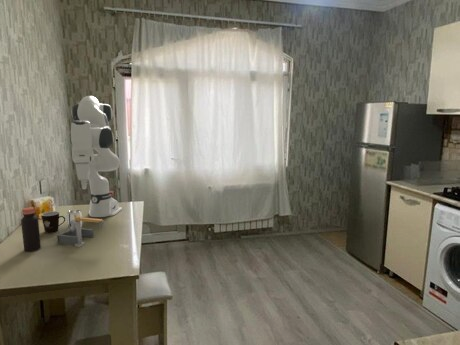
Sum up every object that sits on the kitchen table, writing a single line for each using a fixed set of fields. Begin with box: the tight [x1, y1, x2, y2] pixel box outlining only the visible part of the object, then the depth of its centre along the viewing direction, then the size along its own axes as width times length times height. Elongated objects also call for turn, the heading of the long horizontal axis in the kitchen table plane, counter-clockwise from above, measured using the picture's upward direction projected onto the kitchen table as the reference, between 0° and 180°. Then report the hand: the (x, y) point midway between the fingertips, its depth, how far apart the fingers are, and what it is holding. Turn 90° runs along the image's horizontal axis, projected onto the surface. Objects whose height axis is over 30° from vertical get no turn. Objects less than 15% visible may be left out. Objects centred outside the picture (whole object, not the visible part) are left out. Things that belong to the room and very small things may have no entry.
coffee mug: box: [40, 210, 66, 234], centre depth 173 cm, size 12×9×10 cm
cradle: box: [56, 221, 95, 248], centre depth 160 cm, size 13×14×12 cm
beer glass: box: [66, 209, 84, 240], centre depth 161 cm, size 7×7×15 cm
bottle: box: [20, 206, 42, 253], centre depth 149 cm, size 7×7×20 cm
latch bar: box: [75, 216, 105, 229], centre depth 152 cm, size 15×3×4 cm, turn 77°
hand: (85, 186), depth 145 cm, fingers open, 8 cm apart
